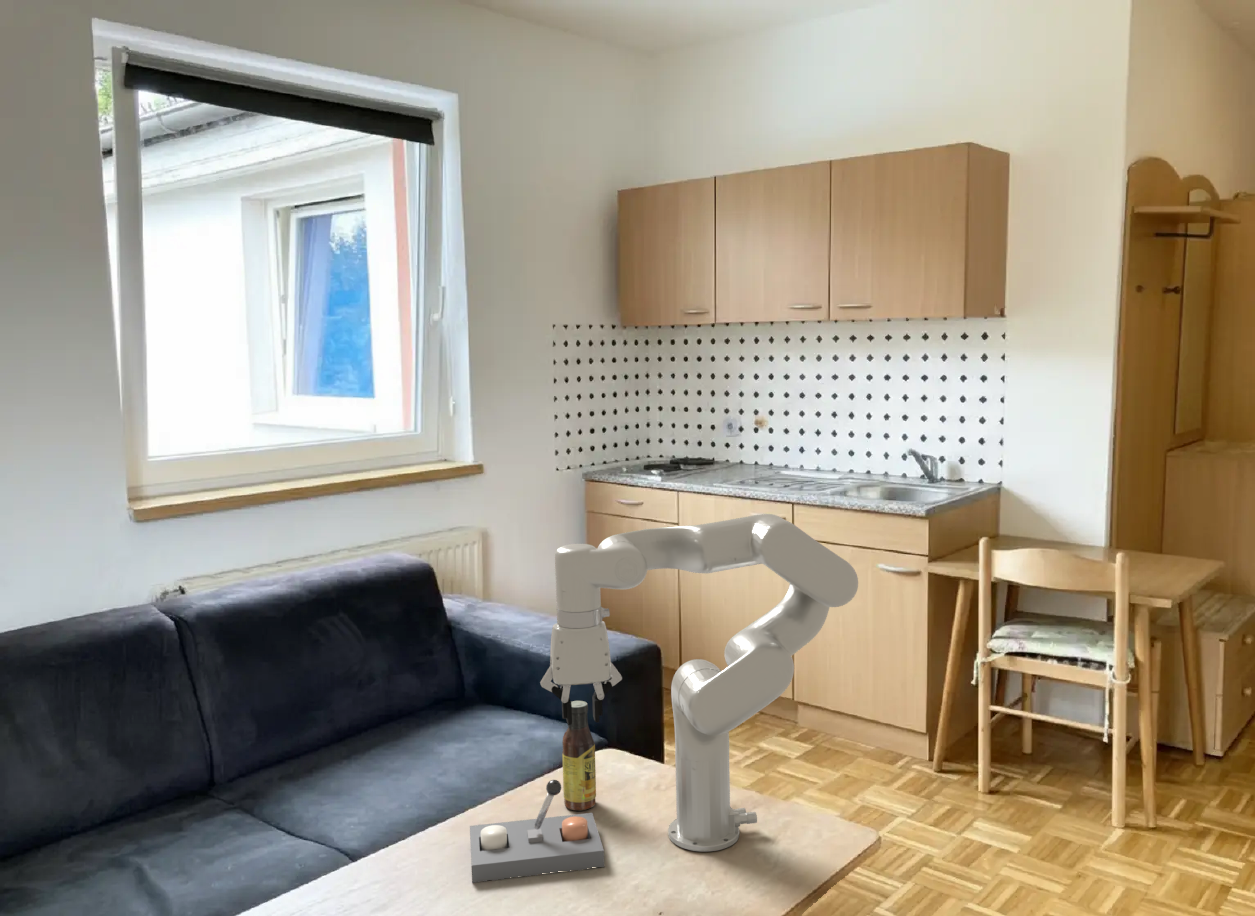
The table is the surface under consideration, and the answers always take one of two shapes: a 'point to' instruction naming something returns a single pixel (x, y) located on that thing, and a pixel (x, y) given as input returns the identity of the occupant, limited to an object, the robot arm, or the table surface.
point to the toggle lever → (547, 801)
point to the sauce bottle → (579, 761)
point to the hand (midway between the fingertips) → (582, 719)
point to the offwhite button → (493, 837)
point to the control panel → (535, 850)
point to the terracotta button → (574, 829)
